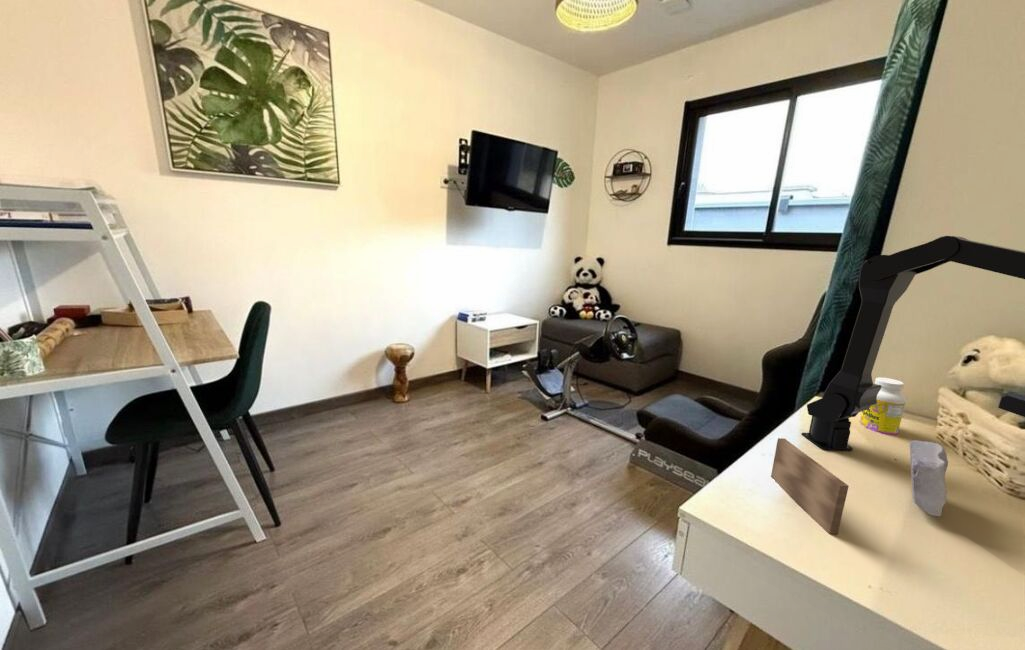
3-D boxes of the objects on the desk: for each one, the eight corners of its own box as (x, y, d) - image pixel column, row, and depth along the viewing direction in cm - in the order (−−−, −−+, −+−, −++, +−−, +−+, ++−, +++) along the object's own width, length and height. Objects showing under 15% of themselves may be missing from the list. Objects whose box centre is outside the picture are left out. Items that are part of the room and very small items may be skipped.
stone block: (898, 484, 71) (911, 433, 69) (936, 496, 68) (951, 443, 66) (896, 514, 63) (910, 457, 61) (939, 529, 60) (956, 470, 58)
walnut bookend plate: (770, 478, 72) (777, 438, 70) (777, 478, 72) (784, 438, 70) (829, 534, 58) (840, 485, 56) (837, 534, 58) (848, 485, 56)
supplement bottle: (851, 425, 95) (862, 374, 93) (881, 427, 95) (893, 376, 92) (872, 438, 89) (884, 384, 86) (904, 441, 88) (918, 386, 85)
